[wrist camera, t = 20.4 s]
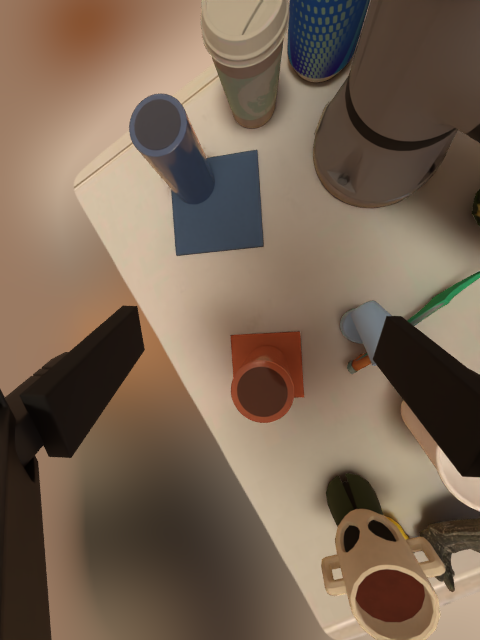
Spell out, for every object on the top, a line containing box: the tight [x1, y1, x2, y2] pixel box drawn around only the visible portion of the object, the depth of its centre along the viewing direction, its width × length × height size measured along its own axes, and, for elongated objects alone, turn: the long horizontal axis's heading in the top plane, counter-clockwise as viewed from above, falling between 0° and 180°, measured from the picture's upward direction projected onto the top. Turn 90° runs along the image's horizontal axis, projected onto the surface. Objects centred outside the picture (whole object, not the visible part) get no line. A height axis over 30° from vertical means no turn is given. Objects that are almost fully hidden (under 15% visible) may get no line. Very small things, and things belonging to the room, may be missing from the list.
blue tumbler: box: [129, 94, 215, 204], centre depth 30 cm, size 6×6×11 cm
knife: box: [347, 271, 480, 374], centre depth 30 cm, size 20×2×5 cm, turn 132°
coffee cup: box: [201, 0, 290, 128], centre depth 28 cm, size 8×8×12 cm
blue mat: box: [171, 150, 263, 256], centre depth 35 cm, size 13×13×1 cm
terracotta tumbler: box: [231, 345, 294, 423], centre depth 29 cm, size 6×6×11 cm
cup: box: [401, 400, 480, 511], centre depth 26 cm, size 10×10×11 cm
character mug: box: [321, 473, 445, 640], centre depth 27 cm, size 11×7×13 cm, turn 111°
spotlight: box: [340, 301, 392, 366], centre depth 28 cm, size 5×10×7 cm
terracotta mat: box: [231, 331, 304, 397], centre depth 35 cm, size 10×9×1 cm
